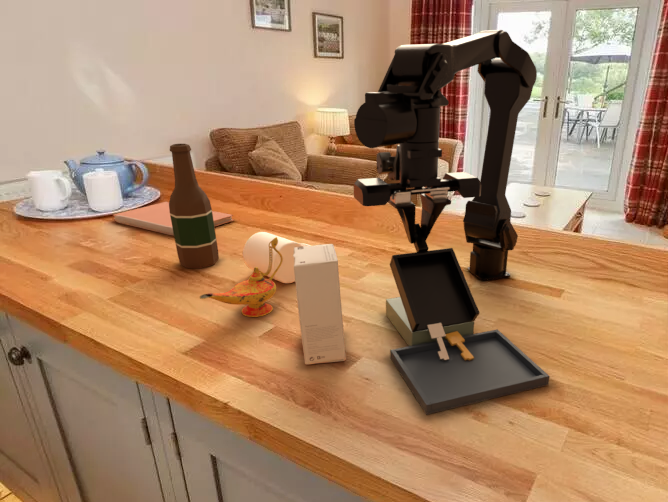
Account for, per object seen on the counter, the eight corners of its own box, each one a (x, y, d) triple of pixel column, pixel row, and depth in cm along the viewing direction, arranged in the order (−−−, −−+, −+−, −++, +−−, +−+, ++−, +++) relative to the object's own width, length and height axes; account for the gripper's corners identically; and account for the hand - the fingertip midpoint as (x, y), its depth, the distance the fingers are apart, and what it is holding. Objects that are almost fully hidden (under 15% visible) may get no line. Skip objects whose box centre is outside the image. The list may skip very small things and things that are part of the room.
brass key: (444, 336, 72) (444, 334, 72) (456, 332, 73) (457, 330, 72) (464, 362, 68) (465, 360, 68) (478, 358, 69) (478, 355, 68)
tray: (496, 337, 75) (497, 329, 74) (548, 385, 64) (549, 376, 63) (390, 358, 69) (390, 349, 69) (426, 414, 58) (426, 405, 57)
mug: (275, 289, 90) (271, 248, 87) (244, 275, 96) (239, 236, 93) (325, 270, 99) (322, 232, 96) (294, 259, 105) (291, 223, 102)
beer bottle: (171, 265, 101) (147, 145, 91) (199, 253, 107) (179, 140, 98) (200, 271, 98) (179, 148, 88) (227, 258, 105) (210, 143, 95)
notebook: (110, 222, 129) (108, 214, 128) (166, 207, 142) (165, 200, 141) (179, 238, 117) (177, 230, 116) (234, 221, 130) (232, 214, 129)
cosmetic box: (346, 361, 68) (341, 262, 62) (302, 366, 67) (293, 265, 61) (340, 332, 76) (335, 241, 70) (300, 336, 75) (292, 244, 69)
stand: (385, 314, 81) (385, 298, 80) (440, 305, 85) (441, 290, 84) (411, 350, 71) (412, 332, 70) (473, 338, 74) (474, 321, 73)
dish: (380, 239, 78) (384, 226, 76) (438, 232, 82) (443, 220, 79) (412, 332, 70) (416, 322, 67) (474, 321, 73) (481, 310, 71)
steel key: (426, 326, 70) (427, 325, 70) (440, 323, 71) (441, 322, 71) (438, 362, 68) (439, 361, 67) (453, 359, 68) (454, 358, 68)
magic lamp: (191, 333, 75) (178, 266, 71) (271, 290, 90) (264, 232, 86) (224, 343, 72) (213, 275, 68) (301, 297, 87) (295, 238, 83)
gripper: (453, 131, 81) (449, 222, 87) (342, 135, 75) (346, 232, 81) (486, 140, 71) (479, 242, 78) (362, 146, 65) (365, 255, 72)
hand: (417, 242), depth 77 cm, fingers closed on dish, 2 cm apart
